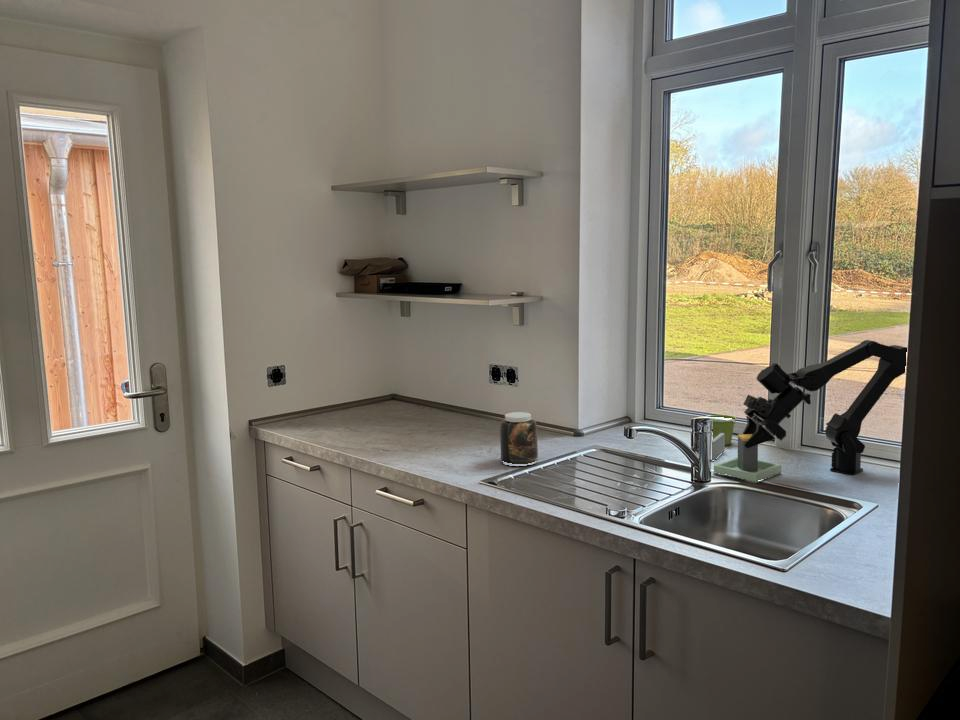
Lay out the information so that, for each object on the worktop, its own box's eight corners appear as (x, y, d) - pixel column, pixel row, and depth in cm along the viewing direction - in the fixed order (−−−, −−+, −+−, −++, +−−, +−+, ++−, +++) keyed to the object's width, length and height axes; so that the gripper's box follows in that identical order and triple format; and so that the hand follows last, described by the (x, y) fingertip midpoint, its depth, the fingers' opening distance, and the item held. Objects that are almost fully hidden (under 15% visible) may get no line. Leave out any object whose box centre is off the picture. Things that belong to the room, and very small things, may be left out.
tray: (780, 473, 209) (781, 464, 209) (755, 483, 201) (755, 474, 201) (739, 464, 219) (739, 456, 219) (713, 473, 211) (713, 465, 211)
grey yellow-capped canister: (751, 466, 212) (751, 433, 211) (757, 471, 207) (757, 438, 206) (737, 466, 212) (737, 434, 211) (743, 471, 207) (743, 438, 206)
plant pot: (738, 447, 238) (738, 421, 237) (707, 447, 240) (707, 420, 239) (734, 440, 247) (734, 414, 246) (704, 440, 249) (705, 414, 248)
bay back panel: (724, 451, 233) (724, 433, 233) (713, 461, 223) (713, 441, 223) (720, 451, 234) (720, 432, 233) (709, 460, 224) (709, 441, 223)
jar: (492, 463, 231) (491, 415, 229) (517, 455, 239) (515, 409, 237) (522, 469, 223) (520, 420, 221) (546, 460, 231) (544, 413, 229)
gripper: (751, 379, 216) (713, 418, 218) (774, 391, 197) (732, 433, 199) (778, 405, 216) (740, 443, 218) (804, 419, 198) (761, 460, 200)
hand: (742, 444), depth 209 cm, fingers closed on grey yellow-capped canister, 5 cm apart
